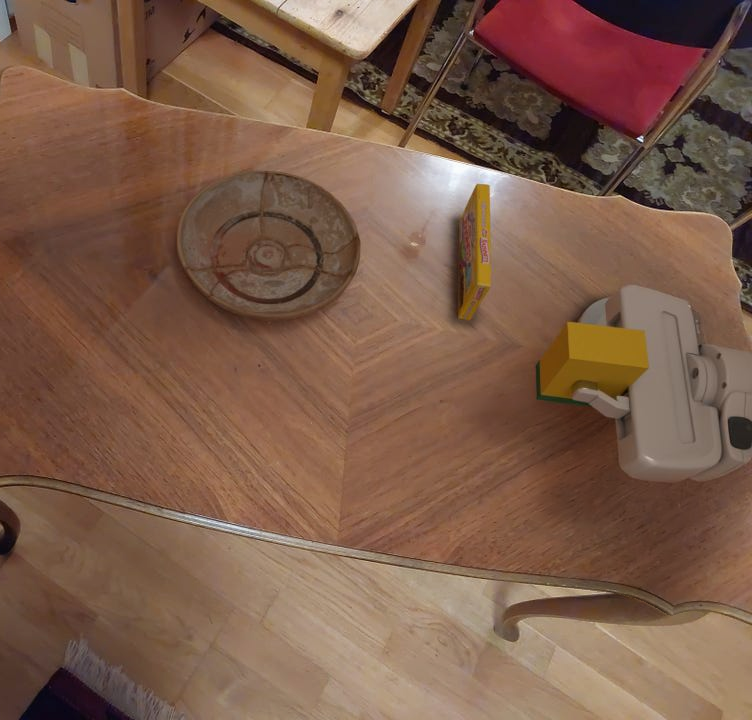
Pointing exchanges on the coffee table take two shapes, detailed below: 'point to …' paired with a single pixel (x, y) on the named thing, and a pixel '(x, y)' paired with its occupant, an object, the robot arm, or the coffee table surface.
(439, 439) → the coffee table surface
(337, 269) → the ceramic bowl
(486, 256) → the candy box
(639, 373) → the sponge
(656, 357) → the robot arm
